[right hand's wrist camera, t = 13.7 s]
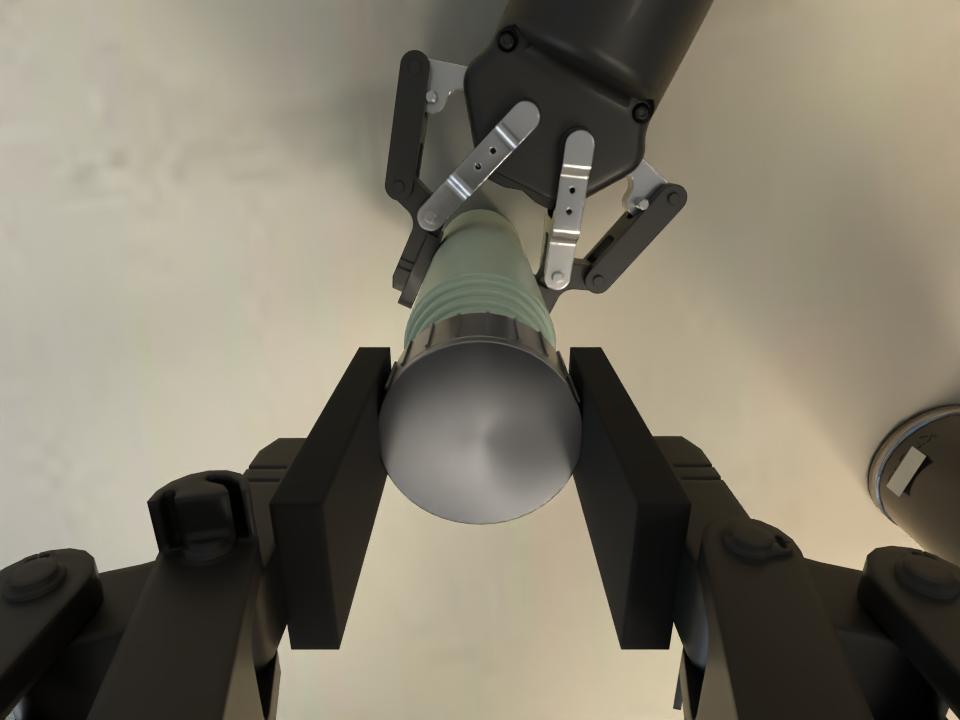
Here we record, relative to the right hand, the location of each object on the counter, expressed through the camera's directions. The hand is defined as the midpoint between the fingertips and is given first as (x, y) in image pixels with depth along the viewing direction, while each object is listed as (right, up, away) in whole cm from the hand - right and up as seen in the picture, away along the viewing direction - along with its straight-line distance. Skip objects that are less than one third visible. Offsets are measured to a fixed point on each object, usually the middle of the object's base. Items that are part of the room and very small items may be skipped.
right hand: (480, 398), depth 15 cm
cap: (0, -1, -2) cm, 2 cm away
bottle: (0, +7, +19) cm, 21 cm away
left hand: (-1, +3, +14) cm, 14 cm away
